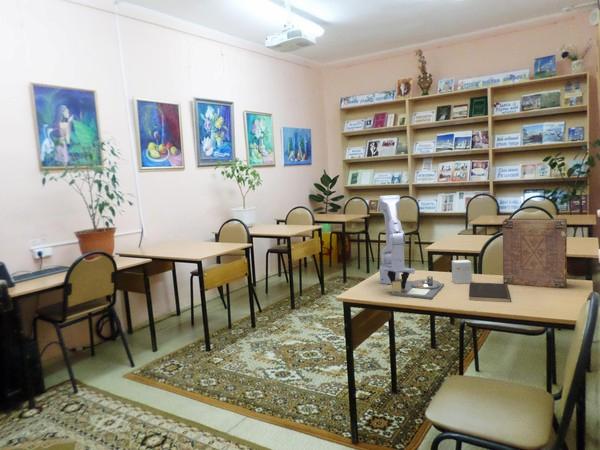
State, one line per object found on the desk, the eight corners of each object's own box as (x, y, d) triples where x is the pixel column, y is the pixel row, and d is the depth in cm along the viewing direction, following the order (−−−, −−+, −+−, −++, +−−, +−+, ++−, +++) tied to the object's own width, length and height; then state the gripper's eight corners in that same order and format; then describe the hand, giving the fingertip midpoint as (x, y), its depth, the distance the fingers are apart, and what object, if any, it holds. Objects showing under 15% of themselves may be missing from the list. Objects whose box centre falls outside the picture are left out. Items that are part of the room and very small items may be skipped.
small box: (468, 280, 210) (468, 259, 209) (472, 283, 204) (471, 261, 203) (451, 281, 210) (451, 260, 209) (455, 283, 205) (454, 262, 204)
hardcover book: (468, 301, 179) (468, 296, 179) (469, 287, 200) (469, 282, 200) (511, 303, 173) (511, 298, 172) (507, 288, 194) (507, 283, 193)
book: (566, 283, 194) (567, 218, 191) (566, 288, 186) (567, 221, 183) (505, 279, 208) (505, 218, 204) (502, 283, 200) (502, 220, 197)
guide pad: (407, 294, 189) (407, 293, 189) (412, 289, 196) (412, 287, 196) (425, 295, 185) (425, 294, 185) (430, 290, 192) (430, 289, 192)
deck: (391, 295, 192) (391, 293, 192) (407, 282, 212) (407, 280, 212) (431, 299, 182) (431, 297, 182) (444, 285, 203) (444, 283, 203)
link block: (392, 292, 193) (392, 281, 193) (396, 288, 198) (396, 277, 198) (401, 292, 191) (400, 281, 191) (405, 289, 196) (404, 278, 196)
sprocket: (418, 290, 193) (417, 279, 192) (407, 283, 206) (406, 272, 205) (445, 287, 195) (444, 276, 194) (432, 280, 207) (432, 270, 207)
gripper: (379, 259, 194) (380, 288, 195) (411, 261, 186) (411, 291, 188) (385, 256, 200) (386, 284, 201) (415, 258, 192) (416, 287, 193)
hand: (398, 287), depth 195 cm, fingers closed on link block, 4 cm apart
